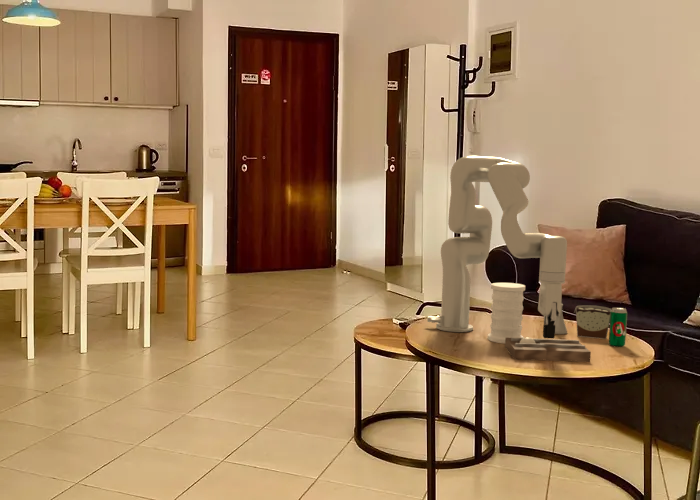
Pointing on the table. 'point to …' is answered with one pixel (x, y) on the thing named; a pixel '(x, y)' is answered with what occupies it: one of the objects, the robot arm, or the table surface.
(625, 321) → the soda can
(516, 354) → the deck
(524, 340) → the ball
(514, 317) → the decorative container
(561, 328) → the flask
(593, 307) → the food container
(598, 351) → the table surface
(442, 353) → the table surface
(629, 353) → the table surface
